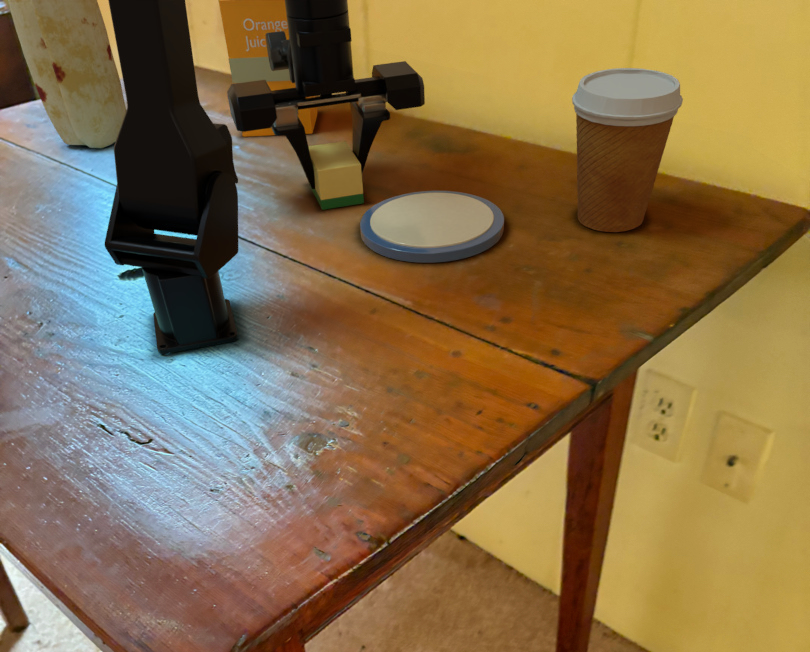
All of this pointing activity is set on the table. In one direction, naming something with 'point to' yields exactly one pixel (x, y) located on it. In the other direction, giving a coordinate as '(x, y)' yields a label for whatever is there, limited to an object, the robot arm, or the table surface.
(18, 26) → the food model
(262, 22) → the orange juice
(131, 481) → the table surface
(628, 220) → the disposable coffee cup
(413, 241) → the plate
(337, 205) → the sponge
